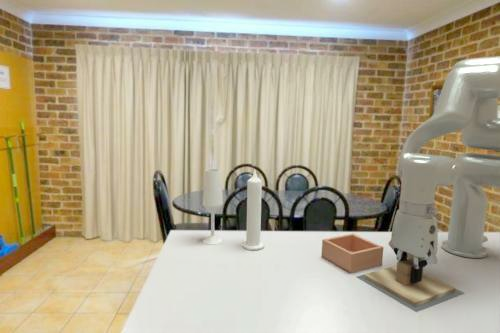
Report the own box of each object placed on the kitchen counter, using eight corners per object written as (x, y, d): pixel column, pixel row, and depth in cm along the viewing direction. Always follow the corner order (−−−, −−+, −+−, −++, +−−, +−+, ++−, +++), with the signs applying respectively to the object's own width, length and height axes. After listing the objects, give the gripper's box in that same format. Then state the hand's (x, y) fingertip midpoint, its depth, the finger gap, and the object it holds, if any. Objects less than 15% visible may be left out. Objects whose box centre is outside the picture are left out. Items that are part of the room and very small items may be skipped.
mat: (401, 265, 100) (402, 263, 100) (464, 295, 84) (465, 293, 84) (355, 278, 92) (355, 276, 92) (416, 314, 76) (416, 312, 76)
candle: (238, 248, 110) (239, 170, 106) (247, 240, 117) (248, 167, 113) (259, 252, 108) (261, 172, 104) (267, 244, 114) (269, 169, 110)
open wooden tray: (351, 251, 110) (352, 233, 109) (381, 267, 99) (383, 247, 98) (321, 258, 104) (322, 239, 103) (350, 275, 93) (351, 254, 93)
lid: (403, 267, 98) (405, 246, 97) (455, 291, 85) (458, 268, 84) (364, 278, 91) (366, 256, 90) (414, 306, 78) (417, 281, 77)
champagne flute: (226, 240, 117) (227, 170, 113) (212, 246, 112) (212, 172, 108) (213, 235, 121) (213, 167, 117) (198, 240, 116) (198, 170, 112)
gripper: (458, 215, 79) (449, 290, 82) (398, 198, 94) (392, 263, 97) (437, 219, 76) (429, 297, 79) (378, 201, 90) (373, 268, 93)
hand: (408, 277), depth 88 cm, fingers closed on lid, 3 cm apart
